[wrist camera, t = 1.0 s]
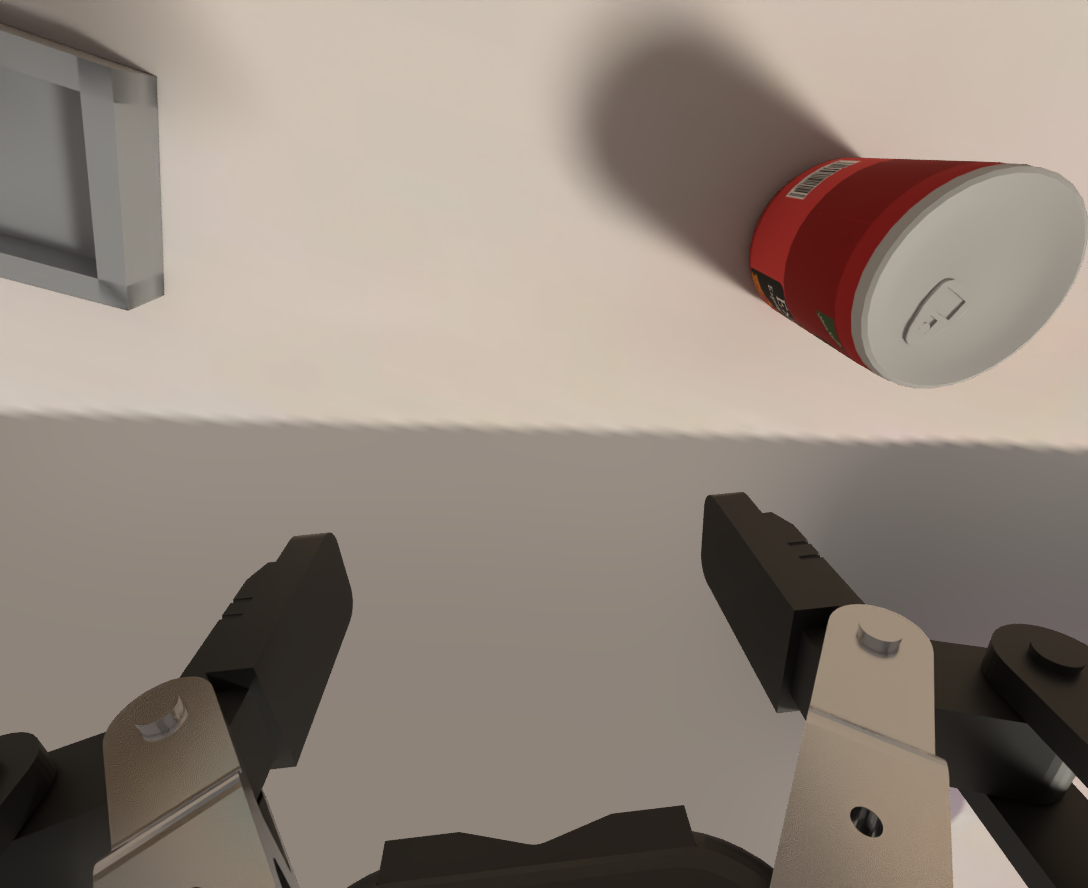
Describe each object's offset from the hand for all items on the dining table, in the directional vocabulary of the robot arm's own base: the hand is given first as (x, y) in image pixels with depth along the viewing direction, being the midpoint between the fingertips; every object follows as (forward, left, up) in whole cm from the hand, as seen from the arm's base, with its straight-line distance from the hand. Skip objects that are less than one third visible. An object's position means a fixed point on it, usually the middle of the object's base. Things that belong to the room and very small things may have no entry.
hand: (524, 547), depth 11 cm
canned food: (-8, +14, -20) cm, 26 cm away
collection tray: (0, -25, -20) cm, 32 cm away
